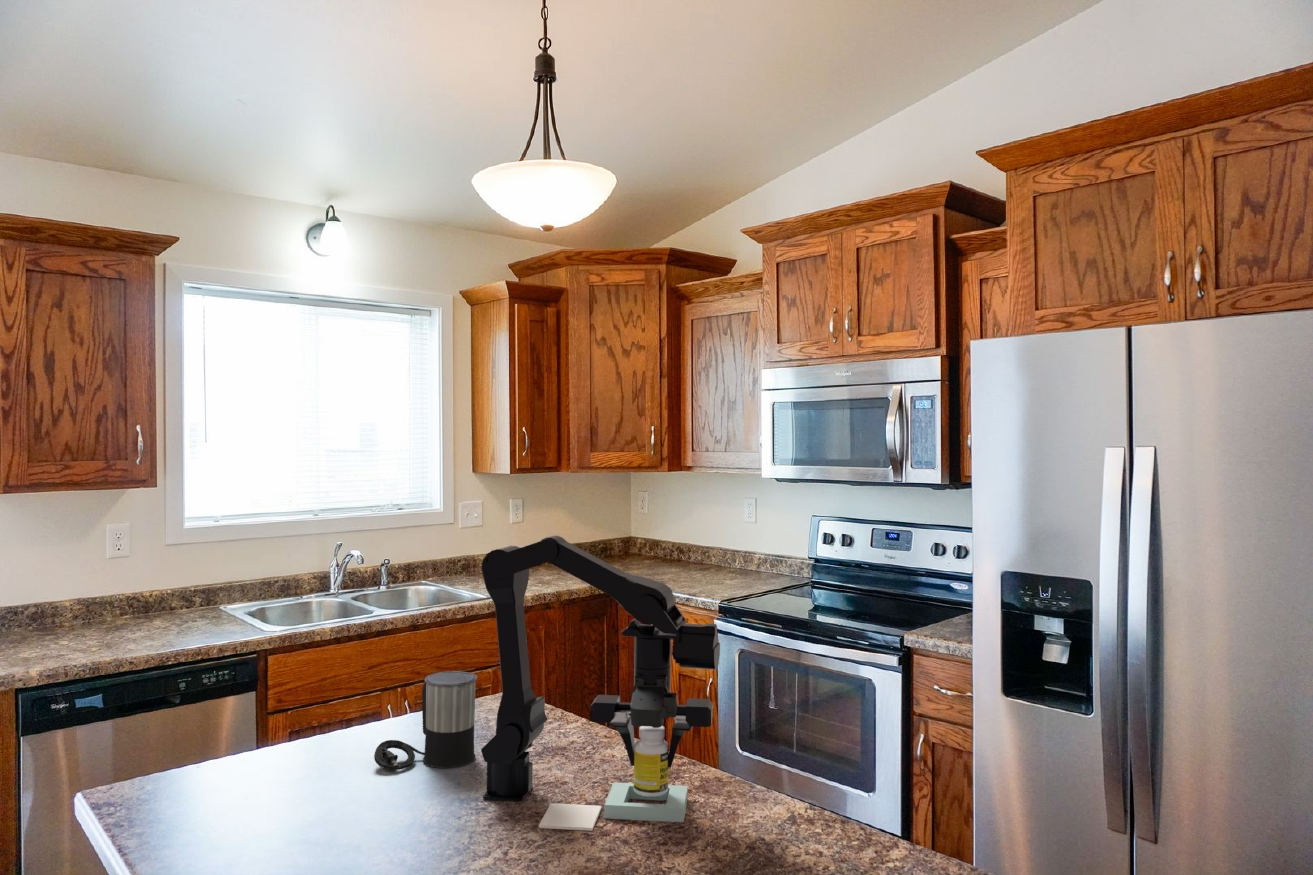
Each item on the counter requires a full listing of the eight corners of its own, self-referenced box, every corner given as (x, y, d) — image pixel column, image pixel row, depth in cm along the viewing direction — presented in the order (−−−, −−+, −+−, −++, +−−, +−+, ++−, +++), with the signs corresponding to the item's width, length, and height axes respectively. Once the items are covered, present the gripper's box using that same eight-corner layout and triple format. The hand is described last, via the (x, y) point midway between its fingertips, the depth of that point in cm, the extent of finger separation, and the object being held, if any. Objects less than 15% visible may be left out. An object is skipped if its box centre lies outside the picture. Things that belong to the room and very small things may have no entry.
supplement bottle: (664, 799, 130) (665, 734, 130) (629, 796, 131) (630, 731, 131) (671, 785, 135) (671, 723, 136) (637, 782, 137) (638, 721, 137)
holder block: (604, 818, 129) (604, 804, 129) (613, 794, 138) (613, 782, 138) (683, 822, 128) (683, 808, 128) (687, 798, 137) (687, 785, 137)
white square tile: (538, 827, 126) (538, 824, 126) (550, 805, 134) (550, 803, 134) (592, 830, 125) (592, 827, 125) (601, 808, 133) (601, 805, 133)
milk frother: (487, 757, 155) (488, 675, 155) (419, 785, 142) (421, 695, 142) (431, 742, 163) (433, 664, 163) (363, 768, 149) (364, 682, 150)
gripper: (583, 676, 127) (582, 782, 126) (710, 680, 125) (709, 789, 124) (596, 658, 138) (595, 756, 137) (713, 662, 136) (712, 761, 136)
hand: (651, 765), depth 133 cm, fingers closed on supplement bottle, 5 cm apart
